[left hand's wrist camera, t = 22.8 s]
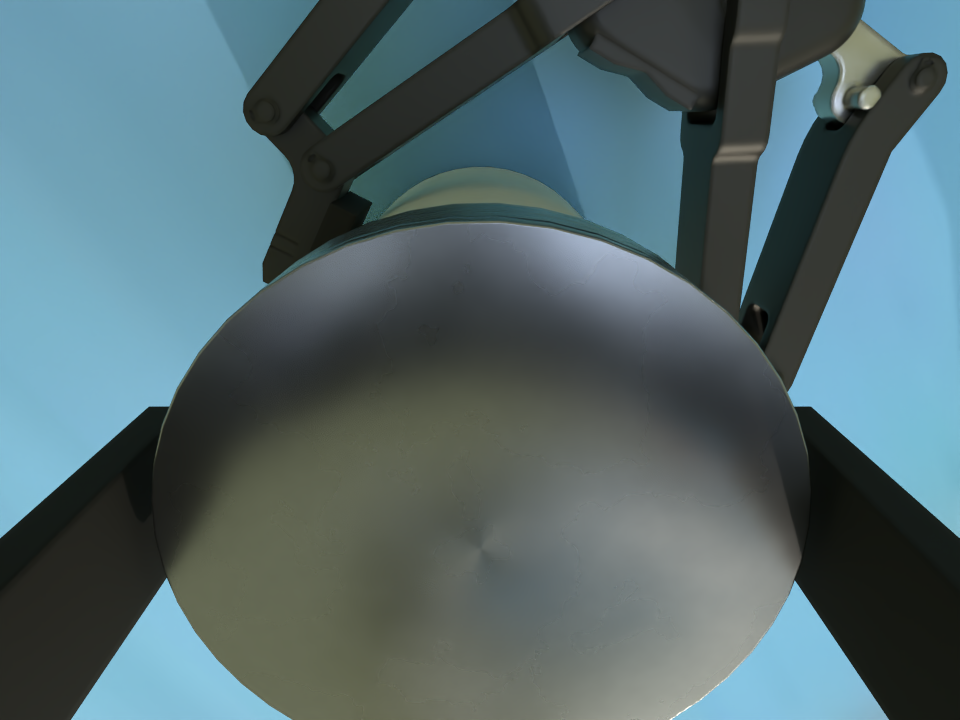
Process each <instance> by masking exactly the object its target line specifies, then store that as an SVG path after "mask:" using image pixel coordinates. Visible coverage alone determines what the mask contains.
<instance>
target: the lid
mask: <svg viewBox="0 0 960 720" xmlns="http://www.w3.org/2000/svg"><path fill="white" fill-rule="evenodd" d="M811 492H812V489H811V479H810V470H809V460H808V451H807V448H806V444H805V440H804V437H803V433H802V429H801V426H800V422H799V418H798V415H797V412H796V410H795V408H794V406H793V404H792V402H791V399H790V397H789V395H788V393H787V391H786V388H785V386H784V384H783V382H782V380H781V378H780V376H779V375H778V373H777V372H776V370H775V369H774V367H773V366H772V364H771V363H770V361H769V360H768V358H767V357H766V355H765V354H764V352H763V351H762V349H761V348H760V346H759V345H758V343H757V342H756V341H755V340H754V339H753V338H752V337H751V336H750V335H749V334H748V333H747V331H746V330H745V329H744V328H743V327H742V326H741V325H740V324H739V323H738V322H737V321H736V320H735V318H734V317H733V316H732V315H731V314H730V313H729V312H728V311H727V310H726V309H725V308H723V307H722V306H721V305H720V304H718V303H717V302H716V301H715V300H713V299H712V298H711V297H709V296H708V295H707V294H706V293H704V292H703V291H702V290H701V289H699V288H698V287H697V286H696V285H694V284H693V283H692V282H691V281H689V280H688V279H687V278H686V277H684V276H683V275H682V274H681V273H679V272H678V271H677V270H676V269H674V268H673V267H672V266H671V265H669V264H668V263H667V262H666V261H664V260H663V259H662V258H661V257H659V256H658V255H656V254H655V253H653V252H651V251H649V250H648V249H646V248H644V247H643V246H641V245H639V244H637V243H636V242H634V241H632V240H631V239H629V238H627V237H625V236H624V235H622V234H619V233H617V232H614V231H612V230H610V229H607V228H605V227H602V226H600V225H597V224H595V223H592V222H590V221H588V220H585V219H582V218H578V217H575V216H571V215H567V214H563V213H559V212H555V211H551V210H547V209H543V208H537V207H529V206H520V205H511V204H503V203H463V204H448V205H441V206H435V207H428V208H422V209H416V210H409V211H406V212H403V213H399V214H396V215H393V216H389V217H386V218H382V219H379V220H376V221H372V222H369V223H367V224H364V225H362V226H360V227H358V228H356V229H353V230H351V231H349V232H347V233H345V234H342V235H340V236H338V237H336V238H334V239H331V240H329V241H328V242H326V243H325V244H323V245H322V246H320V247H318V248H317V249H315V250H314V251H312V252H311V253H309V254H307V255H306V256H304V257H303V258H301V259H300V260H298V261H296V262H295V263H294V264H293V265H291V266H290V267H289V268H288V269H286V270H285V271H284V272H283V273H281V274H280V275H279V276H278V277H276V278H275V279H274V280H273V281H271V282H270V283H269V284H268V285H266V286H265V287H264V288H263V289H261V290H260V291H259V292H258V293H257V294H256V295H255V296H253V297H252V298H251V299H250V300H249V301H248V302H246V303H245V304H244V305H243V306H242V307H241V308H239V309H238V310H237V311H236V312H235V313H234V314H233V315H231V316H230V317H229V318H228V319H227V320H226V321H225V322H224V323H223V325H222V326H221V327H220V328H219V329H218V330H217V332H216V333H215V334H214V335H213V336H212V337H211V339H210V340H209V341H208V342H207V343H206V345H205V346H204V347H203V348H202V349H201V350H200V352H199V353H198V354H197V356H196V358H195V359H194V361H193V363H192V364H191V366H190V368H189V369H188V371H187V372H186V374H185V376H184V377H183V379H182V381H181V382H180V384H179V386H178V387H177V389H176V392H175V394H174V397H173V399H172V402H171V404H170V406H169V409H168V411H167V414H166V416H165V419H164V421H163V424H162V427H161V432H160V436H159V440H158V445H157V449H156V454H155V458H154V463H153V479H152V496H151V503H152V512H153V522H154V532H155V538H156V542H157V546H158V550H159V554H160V558H161V561H162V565H163V569H164V572H165V574H166V577H167V579H168V581H169V584H170V586H171V588H172V591H173V593H174V595H175V598H176V600H177V602H178V604H179V606H180V607H181V609H182V611H183V612H184V614H185V616H186V617H187V619H188V621H189V622H190V624H191V626H192V627H193V629H194V631H195V632H196V634H197V635H198V636H199V637H200V639H201V640H202V641H203V642H204V644H205V645H206V646H207V647H208V649H209V650H210V651H211V653H212V654H213V655H214V656H215V658H216V659H217V660H218V661H219V662H220V663H221V664H222V665H223V666H224V667H225V668H226V669H227V670H228V671H229V672H230V673H231V674H232V675H233V676H234V677H235V678H236V679H237V680H238V681H239V682H240V683H241V684H243V685H244V686H245V687H246V688H248V689H249V690H250V691H252V692H253V693H254V694H255V695H257V696H258V697H259V698H261V699H262V700H263V701H264V702H266V703H267V704H268V705H270V706H271V707H273V708H274V709H276V710H278V711H279V712H281V713H283V714H284V715H286V716H287V717H289V718H291V719H292V720H671V719H673V718H674V717H676V716H677V715H679V714H680V713H682V712H683V711H685V710H686V709H688V708H689V707H691V706H692V705H694V704H695V703H697V702H698V701H700V700H701V699H702V698H704V697H705V696H706V695H707V694H709V693H710V692H711V691H712V690H713V689H715V688H716V687H717V686H718V685H719V684H721V683H722V682H723V681H724V680H725V679H727V678H728V677H729V676H730V675H731V674H732V673H733V672H734V670H735V669H736V668H737V667H738V666H739V665H740V664H741V663H742V662H743V661H744V660H745V659H746V658H747V657H748V656H749V655H750V654H751V653H752V651H753V650H754V649H755V647H756V646H757V645H758V643H759V642H760V641H761V639H762V638H763V637H764V635H765V634H766V633H767V631H768V630H769V628H770V627H771V626H772V624H773V623H774V621H775V619H776V617H777V615H778V614H779V612H780V610H781V608H782V606H783V605H784V603H785V601H786V599H787V597H788V596H789V594H790V591H791V588H792V586H793V583H794V580H795V578H796V575H797V573H798V570H799V567H800V565H801V562H802V558H803V554H804V549H805V545H806V540H807V535H808V531H809V526H810V509H811Z"/></svg>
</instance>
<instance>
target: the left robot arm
mask: <svg viewBox="0 0 960 720" xmlns="http://www.w3.org/2000/svg"><path fill="white" fill-rule="evenodd" d="M794 408H795V410H796V412H797V415H798V418H799V422H800V426H801V429H802V433H803V437H804V440H805V444H806V448H807V451H808V460H809V470H810V479H811V489H812V492H811V509H810V526H809V531H808V535H807V540H806V545H805V549H804V554H803V558H802V562H801V565H800V567H799V570H798V573H797V575H796V578H795V581H796V582H797V584H798V585H799V587H800V588H801V590H802V591H803V593H804V594H805V596H806V597H807V599H808V600H809V602H810V603H811V605H812V606H813V608H814V609H815V611H816V612H817V614H818V615H819V616H820V618H821V619H822V621H823V622H824V624H825V625H826V627H827V628H828V630H829V631H830V633H831V634H832V636H833V637H834V639H835V640H836V642H837V643H838V645H839V646H840V648H841V649H842V651H843V652H844V654H845V655H846V656H847V658H848V659H849V661H850V662H851V664H852V665H853V667H854V668H855V670H856V671H857V673H858V674H859V676H860V677H861V679H862V680H863V682H864V683H865V685H866V686H867V688H868V689H869V691H870V692H871V694H872V695H873V696H874V698H875V699H876V701H877V702H878V704H879V705H880V707H881V708H882V710H883V711H884V713H885V714H886V716H887V717H888V719H889V720H960V538H959V537H957V536H956V535H955V534H954V533H953V532H952V531H951V530H950V529H948V528H947V527H946V526H945V525H944V524H943V523H942V522H941V521H939V520H938V519H937V518H936V517H935V516H934V515H933V514H931V513H930V512H929V511H928V510H927V509H926V508H925V507H924V506H922V505H921V504H920V503H919V502H918V501H917V500H916V499H915V498H913V497H912V496H911V495H910V494H909V493H908V492H907V491H906V490H904V489H903V488H902V487H901V486H900V485H899V484H898V483H896V482H895V481H894V480H893V479H892V478H891V477H890V476H889V475H887V474H886V473H885V472H884V471H883V470H882V469H881V468H880V467H878V466H877V465H876V464H875V463H874V462H873V461H872V460H871V459H869V458H868V457H867V456H866V455H865V454H864V453H863V452H862V451H860V450H859V449H858V448H857V447H856V446H855V445H854V444H852V443H851V442H850V441H849V440H848V439H847V438H846V437H845V436H843V435H842V434H841V433H840V432H839V431H838V430H837V429H836V428H834V427H833V426H832V425H831V424H830V423H829V422H828V421H827V420H825V419H824V418H823V417H822V416H821V415H820V414H819V413H817V412H816V411H815V410H814V409H813V408H812V407H794ZM168 409H169V407H148V408H147V409H146V410H145V411H144V412H143V413H141V414H140V415H139V416H138V417H137V418H136V419H135V420H133V421H132V422H131V423H130V424H129V425H128V426H127V427H126V428H124V429H123V430H122V431H121V432H120V433H119V434H118V435H117V436H115V437H114V438H113V439H112V440H111V441H110V442H109V443H108V444H106V445H105V446H104V447H103V448H102V449H101V450H100V451H99V452H97V453H96V454H95V455H94V456H93V457H92V458H91V459H89V460H88V461H87V462H86V463H85V464H84V465H83V466H82V467H80V468H79V469H78V470H77V471H76V472H75V473H74V474H73V475H71V476H70V477H69V478H68V479H67V480H66V481H65V482H64V483H62V484H61V485H60V486H59V487H58V488H57V489H56V490H54V491H53V492H52V493H51V494H50V495H49V496H48V497H47V498H45V499H44V500H43V501H42V502H41V503H40V504H39V505H38V506H36V507H35V508H34V509H33V510H32V511H31V512H30V513H29V514H27V515H26V516H25V517H24V518H23V519H22V520H21V521H19V522H18V523H17V524H16V525H15V526H14V527H13V528H12V529H10V530H9V531H8V532H7V533H6V534H5V535H4V536H3V537H1V538H0V720H71V719H72V717H73V716H74V714H75V713H76V711H77V710H78V708H79V707H80V705H81V704H82V702H83V701H84V699H85V698H86V696H87V695H88V694H89V692H90V691H91V689H92V688H93V686H94V685H95V683H96V682H97V680H98V679H99V677H100V676H101V674H102V673H103V671H104V670H105V668H106V667H107V665H108V664H109V662H110V661H111V659H112V658H113V656H114V655H115V654H116V652H117V651H118V649H119V648H120V646H121V645H122V643H123V642H124V640H125V639H126V637H127V636H128V634H129V633H130V631H131V630H132V628H133V627H134V625H135V624H136V622H137V621H138V619H139V618H140V616H141V615H142V614H143V612H144V611H145V609H146V608H147V606H148V605H149V603H150V602H151V600H152V599H153V597H154V596H155V594H156V593H157V591H158V590H159V588H160V587H161V585H162V584H163V582H164V581H165V579H166V578H167V577H166V574H165V572H164V569H163V565H162V561H161V558H160V554H159V550H158V546H157V542H156V538H155V532H154V522H153V512H152V503H151V496H152V479H153V463H154V458H155V454H156V449H157V445H158V440H159V436H160V432H161V427H162V424H163V421H164V419H165V416H166V414H167V411H168Z"/></svg>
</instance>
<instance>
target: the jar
mask: <svg viewBox="0 0 960 720" xmlns="http://www.w3.org/2000/svg"><path fill="white" fill-rule="evenodd" d="M463 203H503V204H511V205H520V206H529V207H537V208H543V209H547V210H551V211H555V212H559V213H563V214H567V215H571V216H575V217H578V218H582V219H584V218H583V217H582V216H581V215H580V214H579V213H578V212H577V211H576V210H575V209H574V208H573V207H572V206H571V205H570V204H569V203H568V202H567V201H566V200H565V199H563V198H562V197H561V196H560V195H559V194H557V193H556V192H555V191H554V190H552V189H551V188H549V187H548V186H546V185H544V184H543V183H541V182H540V181H537V180H535V179H533V178H531V177H528V176H526V175H524V174H521V173H517V172H514V171H510V170H507V169H500V168H493V167H469V168H461V169H455V170H451V171H448V172H444V173H440V174H438V175H435V176H433V177H431V178H428V179H426V180H424V181H422V182H420V183H419V184H417V185H415V186H414V187H412V188H410V189H409V190H408V191H407V192H405V193H404V194H403V195H402V196H400V197H399V198H398V199H397V200H396V201H395V202H394V203H393V204H392V205H391V206H390V207H389V208H388V209H387V210H386V211H385V212H384V213H383V214H382V215H381V216H380V217H379V218H378V219H377V220H379V219H382V218H386V217H389V216H393V215H396V214H399V213H403V212H406V211H409V210H416V209H422V208H428V207H435V206H441V205H448V204H463Z"/></svg>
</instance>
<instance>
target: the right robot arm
mask: <svg viewBox="0 0 960 720" xmlns="http://www.w3.org/2000/svg"><path fill="white" fill-rule="evenodd" d="M412 1H413V0H319V2H318V3H317V4H316V5H315V7H314V8H313V9H312V11H311V12H310V13H309V15H308V16H307V17H306V18H305V20H304V21H303V22H302V24H301V25H300V26H299V27H298V29H297V30H296V31H295V33H294V34H293V35H292V37H291V38H290V39H289V40H288V42H287V43H286V44H285V46H284V47H283V48H282V50H281V51H280V52H279V53H278V55H277V56H276V57H275V59H274V60H273V61H272V63H271V64H270V65H269V66H268V68H267V69H266V70H265V72H264V73H263V74H262V76H261V77H260V78H259V79H258V81H257V82H256V83H255V85H254V86H253V87H252V89H251V90H250V91H249V92H248V94H247V96H246V98H245V100H244V104H243V113H244V116H245V119H246V122H247V123H248V124H249V126H250V127H251V128H252V129H253V130H254V131H256V132H257V133H259V134H260V135H265V136H266V137H267V138H268V139H269V140H270V141H271V142H272V143H273V144H274V145H275V146H276V147H277V148H278V149H279V150H280V151H281V152H282V153H283V154H284V155H285V157H286V158H287V159H288V161H289V162H290V164H291V166H292V169H293V173H294V185H293V189H292V192H291V194H290V197H289V199H288V202H287V204H286V207H285V209H284V211H283V214H282V216H281V219H280V221H279V224H278V226H277V229H276V232H275V234H274V236H273V239H272V241H271V245H270V247H269V249H268V251H267V254H266V256H265V259H264V261H263V282H265V283H267V284H269V283H270V282H271V281H273V280H274V279H275V278H276V277H278V276H279V275H280V274H281V273H283V272H284V271H285V270H286V269H288V268H289V267H290V266H291V265H293V264H294V263H295V262H296V261H298V260H300V259H301V258H303V257H304V256H306V255H307V254H309V253H311V252H312V251H314V250H315V249H317V248H318V247H320V246H322V245H323V244H325V243H326V242H328V241H329V240H331V239H334V238H336V237H338V236H340V235H342V234H345V233H347V232H349V231H351V230H353V229H356V228H358V227H360V226H362V224H363V222H364V220H365V218H366V216H367V213H368V211H369V209H370V207H371V205H372V202H370V201H368V200H366V199H364V198H362V197H360V196H358V195H356V194H354V193H353V192H351V191H350V192H348V191H349V189H350V186H351V184H352V182H353V180H354V179H356V178H357V177H358V176H360V175H361V174H363V173H364V172H366V171H367V170H369V169H370V168H372V167H373V166H375V165H376V164H377V163H379V162H380V161H382V160H383V159H385V158H386V157H388V156H389V155H391V154H392V153H394V152H395V151H397V150H398V149H400V148H401V147H403V146H404V145H406V144H407V143H408V142H410V141H411V140H413V139H414V138H416V137H417V136H419V135H420V134H422V133H423V132H425V131H426V130H428V129H429V128H431V127H432V126H434V125H435V124H437V123H438V122H439V121H441V120H442V119H444V118H445V117H447V116H448V115H450V114H451V113H453V112H454V111H456V110H457V109H459V108H460V107H462V106H463V105H465V104H466V103H468V102H469V101H470V100H472V99H473V98H475V97H476V96H478V95H479V94H481V93H482V92H484V91H485V90H487V89H488V88H490V87H491V86H493V85H494V84H496V83H497V82H499V81H500V80H501V79H503V78H504V77H506V76H507V75H509V74H510V73H512V72H513V71H515V70H516V69H518V68H519V67H521V66H522V65H524V64H525V63H527V62H528V61H530V60H531V59H533V58H535V57H536V56H538V55H539V54H541V53H542V52H544V51H545V50H547V49H548V48H549V47H551V46H552V45H554V44H555V43H557V42H558V41H560V40H561V39H563V38H564V37H566V36H567V35H569V37H570V39H571V41H572V42H573V44H574V45H575V47H576V48H577V49H578V50H579V53H578V56H579V57H581V58H582V59H584V60H586V61H587V62H589V63H591V64H592V65H594V66H596V67H597V68H599V69H601V70H605V71H609V72H613V73H617V74H621V75H624V76H627V77H629V78H630V79H631V80H632V82H633V83H634V84H635V85H636V86H637V87H638V88H639V89H640V90H641V92H642V93H643V94H644V95H645V96H646V97H647V98H648V99H650V100H652V101H653V102H655V103H657V104H658V105H660V106H662V107H663V108H665V109H666V110H668V111H682V121H681V138H680V141H681V147H682V150H683V155H684V162H683V175H682V188H681V201H680V214H679V226H678V239H677V252H676V265H675V269H676V270H677V271H678V272H679V273H681V274H682V275H683V276H684V277H686V278H687V279H688V280H689V281H691V282H692V283H693V284H694V285H696V286H697V287H698V288H699V289H701V290H702V291H703V292H704V293H706V294H707V295H708V296H709V297H711V298H712V299H713V300H715V301H716V302H717V303H718V304H720V305H721V306H722V307H723V308H725V309H726V310H727V311H728V312H729V313H730V314H731V315H732V316H733V317H734V318H735V320H736V321H737V322H738V323H739V324H740V325H741V326H742V327H743V328H744V329H745V330H746V331H747V333H748V334H749V335H750V336H751V337H752V338H753V339H754V340H755V341H756V342H757V343H758V345H759V346H760V348H761V349H762V351H763V352H764V354H765V355H766V357H767V358H768V360H769V361H770V363H771V364H772V366H773V367H774V369H775V370H776V372H777V373H778V375H779V376H780V378H781V380H782V382H783V384H784V386H785V388H786V391H787V392H788V390H789V389H790V387H791V386H792V384H793V381H794V379H795V377H796V374H797V372H798V370H799V367H800V365H801V363H802V360H803V358H804V356H805V353H806V351H807V348H808V346H809V344H810V341H811V339H812V337H813V334H814V332H815V330H816V327H817V325H818V323H819V320H820V318H821V316H822V313H823V311H824V309H825V306H826V304H827V302H828V299H829V297H830V295H831V292H832V290H833V288H834V285H835V283H836V281H837V278H838V276H839V274H840V271H841V269H842V266H843V264H844V262H845V259H846V257H847V255H848V252H849V250H850V248H851V245H852V243H853V241H854V238H855V236H856V234H857V231H858V229H859V227H860V224H861V222H862V220H863V217H864V215H865V213H866V210H867V208H868V206H869V203H870V201H871V199H872V196H873V194H874V191H875V189H876V187H877V184H878V182H879V180H880V177H881V175H882V173H883V170H884V168H885V166H886V163H887V161H888V159H889V156H890V154H891V152H892V150H893V149H894V148H895V147H896V145H897V144H898V143H899V142H900V141H901V139H902V138H903V137H904V136H905V134H906V133H907V132H908V131H909V130H910V128H911V127H912V126H913V125H914V123H915V122H916V121H917V120H918V118H919V117H920V116H921V115H922V114H923V112H924V111H925V110H926V109H927V107H928V106H929V105H930V104H931V103H932V101H933V100H934V99H935V98H936V96H937V95H938V94H939V93H940V91H941V89H942V88H943V86H944V84H945V82H946V78H947V73H948V72H947V66H946V63H945V61H944V60H943V58H942V57H941V56H939V55H937V54H935V53H920V54H913V55H905V54H904V53H902V52H901V51H900V50H898V49H897V48H896V47H895V46H893V45H892V44H891V43H890V42H888V41H887V40H886V39H885V38H883V37H882V36H881V35H880V34H878V33H877V32H876V31H875V30H873V29H872V28H871V27H870V26H868V25H867V24H866V23H865V22H863V21H862V20H861V17H862V14H863V11H864V7H865V0H517V1H516V2H515V3H514V4H513V5H512V6H510V7H509V8H508V9H507V10H505V11H504V12H502V13H501V14H500V15H498V16H497V17H495V18H494V19H492V20H491V21H490V22H488V23H487V24H485V25H484V26H482V27H481V28H480V29H478V30H477V31H475V32H474V33H473V34H471V35H470V36H468V37H467V38H465V39H464V40H463V41H461V42H460V43H458V44H457V45H455V46H454V47H453V48H451V49H450V50H448V51H447V52H445V53H444V54H443V55H441V56H440V57H438V58H437V59H436V60H434V61H433V62H431V63H430V64H428V65H427V66H426V67H424V68H423V69H421V70H420V71H418V72H417V73H416V74H414V75H413V76H411V77H410V78H408V79H407V80H406V81H404V82H403V83H401V84H400V85H398V86H397V87H396V88H394V89H393V90H391V91H390V92H389V93H387V94H386V95H384V96H383V97H381V98H380V99H379V100H377V101H376V102H374V103H373V104H371V105H370V106H369V107H367V108H366V109H364V110H363V111H361V112H360V113H359V114H357V115H356V116H354V117H353V118H351V119H350V120H349V121H347V122H346V123H344V124H343V125H342V126H340V127H339V128H337V129H336V130H333V129H332V128H331V127H330V126H329V125H328V124H327V123H326V121H325V120H324V119H323V118H322V117H321V116H320V113H321V112H322V111H323V110H324V109H325V107H326V106H327V105H328V104H329V102H330V101H331V100H332V99H333V98H334V96H335V95H336V94H337V93H338V91H339V90H340V89H341V88H342V87H343V85H344V84H345V83H346V82H347V80H348V79H349V78H350V77H351V76H352V74H353V73H354V72H355V71H356V69H357V68H358V67H359V66H360V65H361V63H362V62H363V61H364V60H365V58H366V57H367V56H368V55H369V54H370V52H371V51H372V50H373V49H374V47H375V46H376V45H377V44H378V43H379V41H380V40H381V39H382V38H383V37H384V35H385V34H386V33H387V32H388V30H389V29H390V28H391V27H392V26H393V24H394V23H395V22H396V21H397V19H398V18H399V17H400V16H401V15H402V13H403V12H404V11H405V10H406V8H407V7H408V6H409V5H410V4H411V2H412ZM816 61H819V63H820V65H821V67H822V74H823V76H822V82H821V85H820V87H819V89H818V91H817V93H816V94H815V95H814V98H813V106H814V107H815V111H816V113H817V115H818V117H817V119H816V120H815V122H814V123H813V125H812V127H811V128H810V130H809V132H808V134H807V136H806V138H805V139H804V142H803V144H802V146H801V148H800V151H799V153H798V155H797V158H796V161H795V163H794V166H793V169H792V171H791V174H790V177H789V179H788V182H787V185H786V187H785V190H784V193H783V196H782V198H781V201H780V204H779V206H778V209H777V212H776V214H775V217H774V220H773V222H772V225H771V228H770V230H769V233H768V236H767V238H766V241H765V244H764V246H763V249H762V252H761V254H760V257H759V260H758V262H757V265H756V268H755V270H754V273H753V276H752V278H751V281H750V284H749V286H748V289H747V292H746V295H745V297H744V300H743V303H742V305H741V308H740V303H741V295H742V287H743V278H744V270H745V262H746V253H747V245H748V237H749V228H750V220H751V212H752V204H753V195H754V187H755V179H756V170H757V163H758V159H759V157H760V155H761V154H762V153H763V152H764V150H765V148H766V146H767V143H768V139H769V133H770V125H771V117H772V109H773V101H774V93H775V85H776V81H777V80H779V79H781V78H783V77H785V76H787V75H789V74H791V73H793V72H795V71H797V70H799V69H801V68H803V67H805V66H807V65H809V64H811V63H814V62H816Z"/></svg>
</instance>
